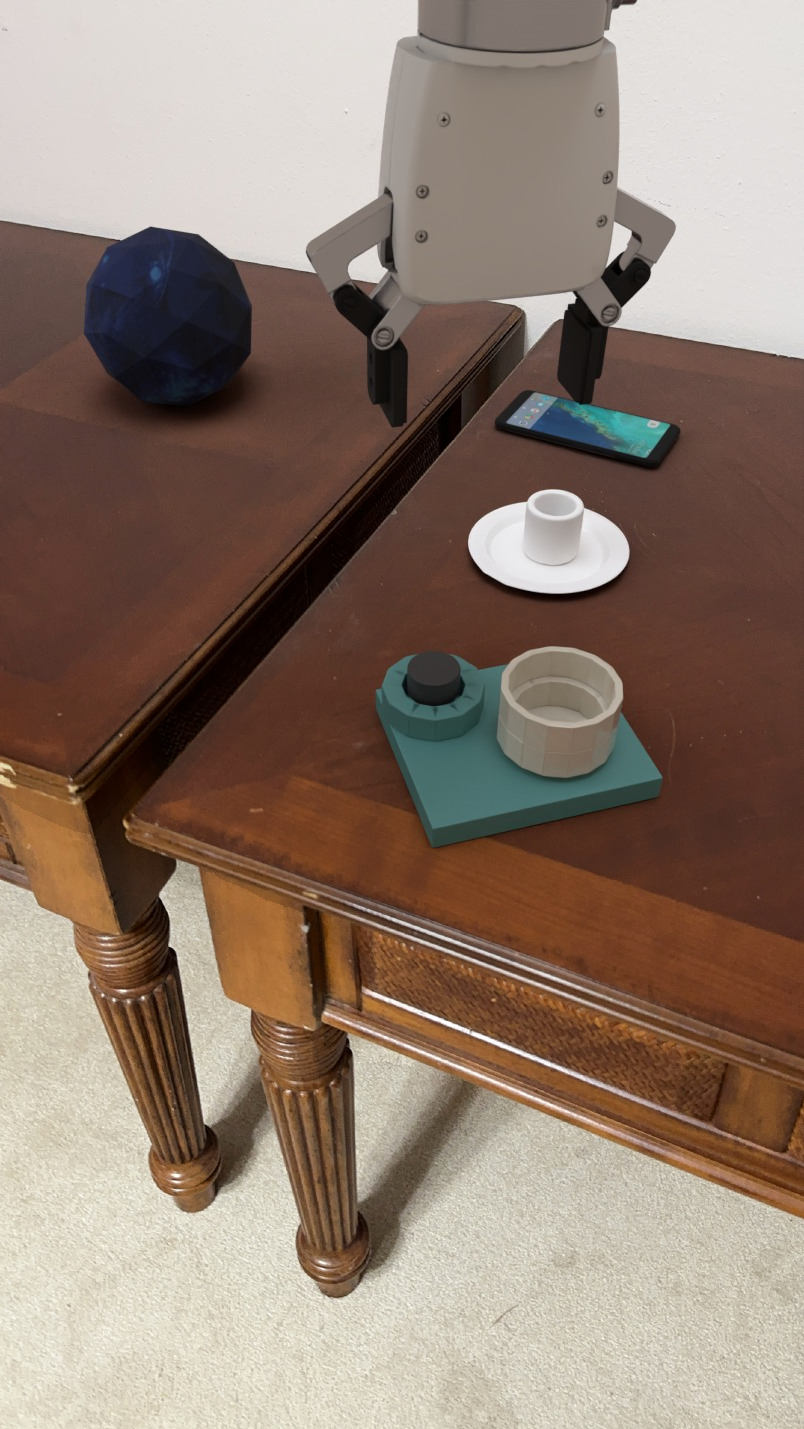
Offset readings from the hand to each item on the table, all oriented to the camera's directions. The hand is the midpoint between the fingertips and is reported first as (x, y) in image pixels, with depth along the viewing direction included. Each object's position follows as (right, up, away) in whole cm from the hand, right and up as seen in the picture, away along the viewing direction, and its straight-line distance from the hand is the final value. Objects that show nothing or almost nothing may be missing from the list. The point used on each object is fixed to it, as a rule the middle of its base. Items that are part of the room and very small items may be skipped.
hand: (484, 403), depth 55 cm
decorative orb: (-24, +14, +46) cm, 54 cm away
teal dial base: (+3, -18, +12) cm, 22 cm away
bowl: (+5, -17, +10) cm, 21 cm away
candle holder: (+7, -4, +28) cm, 29 cm away
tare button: (-2, -14, +12) cm, 18 cm away
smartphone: (+12, +9, +41) cm, 43 cm away
